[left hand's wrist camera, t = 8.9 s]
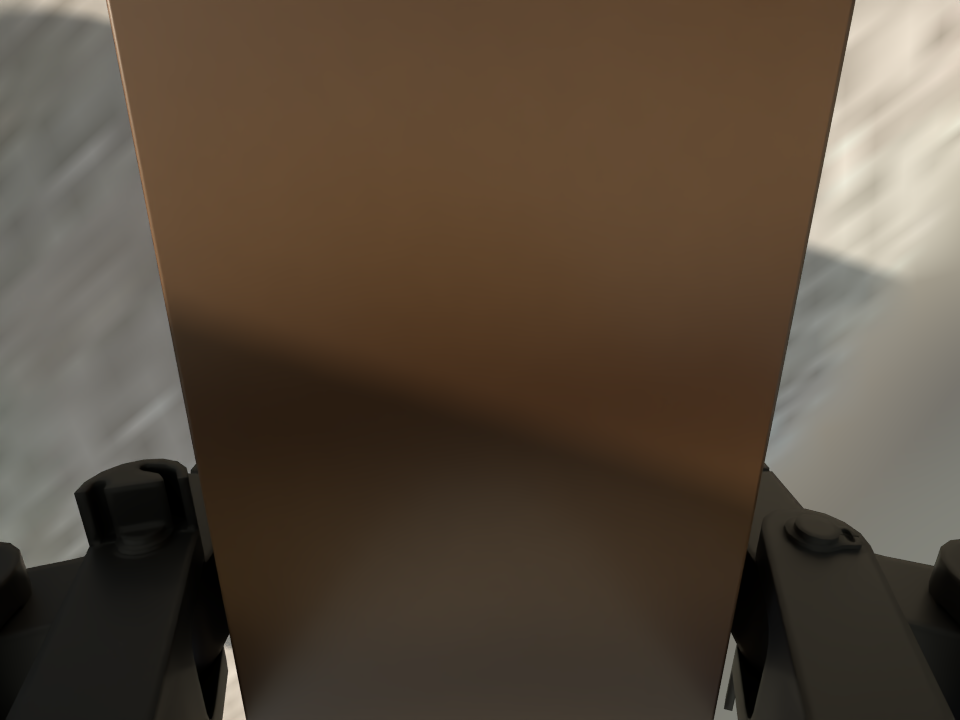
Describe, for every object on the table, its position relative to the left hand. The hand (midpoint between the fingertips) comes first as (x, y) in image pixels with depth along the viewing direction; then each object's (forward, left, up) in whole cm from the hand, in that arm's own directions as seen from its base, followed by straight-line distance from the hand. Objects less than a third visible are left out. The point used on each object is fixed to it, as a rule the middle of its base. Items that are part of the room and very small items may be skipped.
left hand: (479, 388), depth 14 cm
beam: (+18, +30, -1) cm, 35 cm away
